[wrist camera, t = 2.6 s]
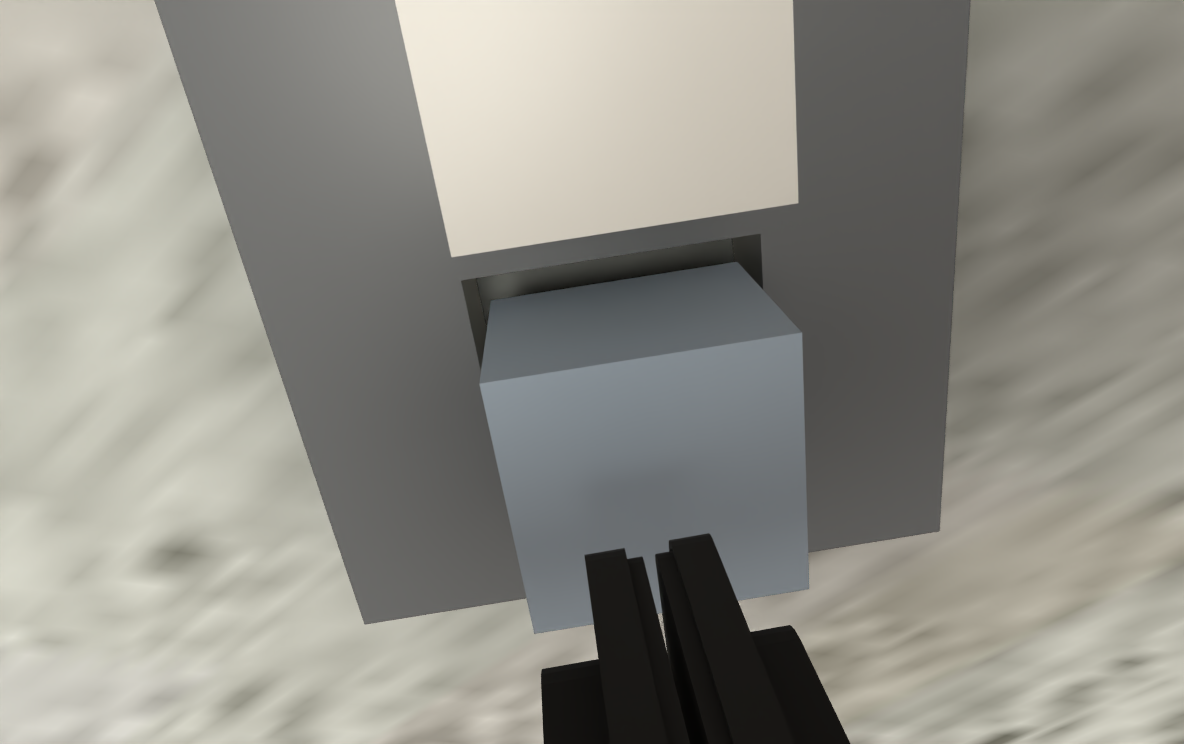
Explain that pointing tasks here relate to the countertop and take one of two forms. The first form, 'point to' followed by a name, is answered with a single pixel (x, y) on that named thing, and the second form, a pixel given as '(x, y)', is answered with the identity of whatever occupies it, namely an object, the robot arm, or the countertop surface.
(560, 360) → the slate key
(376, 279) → the slotted grey plate
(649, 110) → the ivory key
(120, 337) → the countertop surface
